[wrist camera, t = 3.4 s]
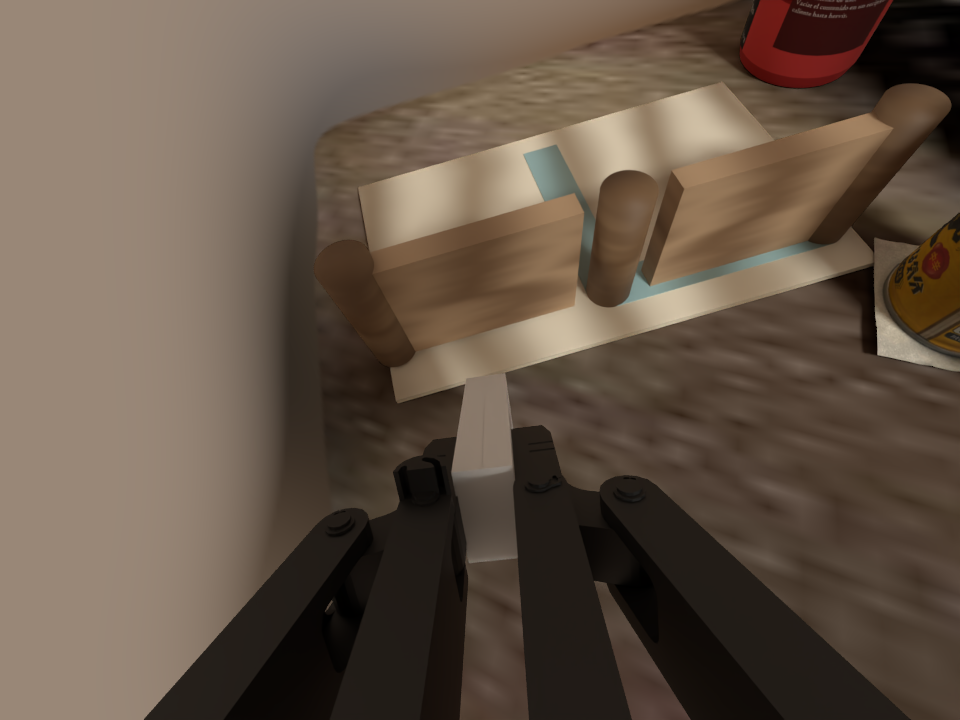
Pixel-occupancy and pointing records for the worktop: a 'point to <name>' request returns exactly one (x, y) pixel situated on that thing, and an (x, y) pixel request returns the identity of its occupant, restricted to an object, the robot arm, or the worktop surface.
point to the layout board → (589, 230)
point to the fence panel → (457, 279)
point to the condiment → (919, 298)
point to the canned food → (807, 39)
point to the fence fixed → (756, 196)
